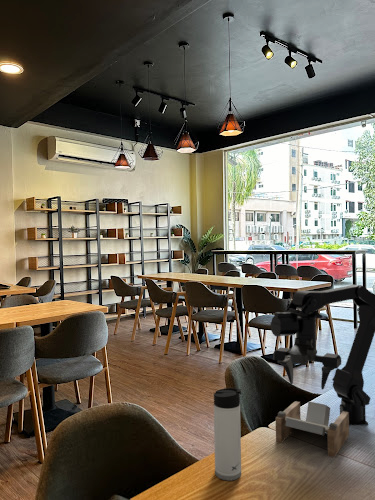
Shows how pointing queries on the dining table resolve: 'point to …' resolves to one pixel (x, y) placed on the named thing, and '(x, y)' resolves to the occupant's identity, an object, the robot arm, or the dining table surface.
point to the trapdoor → (306, 426)
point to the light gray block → (318, 413)
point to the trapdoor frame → (335, 432)
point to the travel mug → (227, 433)
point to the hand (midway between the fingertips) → (306, 386)
